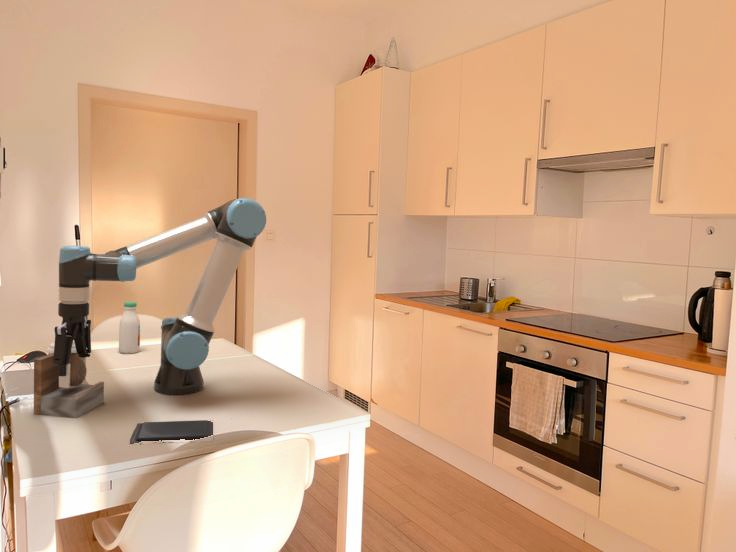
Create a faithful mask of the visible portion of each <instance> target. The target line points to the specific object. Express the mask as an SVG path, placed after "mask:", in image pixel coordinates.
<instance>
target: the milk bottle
mask: <svg viewBox="0 0 736 552" xmlns="http://www.w3.org/2000/svg"><path fill="white" fill-rule="evenodd" d="M137 306H138V304H137V302H134V301H127V302H124V303H123V308H124V311H123V313H122V316H121V318H120V320H119V327H118V352H119V353H120V354H138V353H140V348H141V347H140V345H141V322H140V321H141V320H140V318H139V316H138V314H137Z"/></svg>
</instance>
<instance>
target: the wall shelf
mask: <svg viewBox="0 0 736 552" xmlns="http://www.w3.org/2000/svg"><path fill="white" fill-rule="evenodd" d="M53 357H54V353H51V354H45V355H43V356H40V357H37V358H34V359H33V415H41V416H50V417H51V416H52V417H62V418H63V417H65V418H72V419H73V418H75V419H76V418H79V417H81V416H83V415H84V414H86V413H88V412H89V411H91V410H93V409H95V408H97V407H98V406H101V405H102V404H104V397H105V396H104V392H105V389H104V388H105V382H104V381H98V382H97V383H95V384H86V383H85V384H84V383H81V384H80V385H78V386H70V387H69V388H63V387H59V364H55V363H53Z"/></svg>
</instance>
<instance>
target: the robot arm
mask: <svg viewBox="0 0 736 552" xmlns="http://www.w3.org/2000/svg"><path fill="white" fill-rule="evenodd" d="M266 224H267V214H266V212H265V209H264V207H263V206H262V205H261V204H260V203H259V202H257V201H256V200H255V199H251V198H249V197H240V198H234V199H231V200H228V201H226V202H225V203H223V204H221V205H220V206H218V207H216V208H213V209H211V210H209V211H206V212H205V213H204V215H203V217H198V218H197V219H194V220H191V221H188V222H186V223H183V224H181V225H178V226H175V227H173V228H169V229H168V230H165V231H162V232H160V233H156V234H155V235H151V236H149V237H147V238H143V239H141V240H139V241H136V242H133V243H130V244H128V245H126V246H122V247H120V248H117V249H115V250H110V251H106V252H105V253H104V254H103V253H102V254H101V253H100V254H99V253H92V252H91V248H90V247H89V246H85V245H63V246H62V247H60V249H59V258H58V300H59V301H60V302H59V303H58V310H57V311H58V312H57V313H58V316H59V317H61V318H62V321H61V325H60V326H57V325H56V326H55V327H54V335H55V336H54V342H55V345H54V357H53V363H55V364H59V387H63V388H69V387H70V364H68V362H69V357H70V353H71V348H72V344H73V341H74V342H75V347H76V351H77V353H78V355H79V357H80V358H81V359H82V360H83V361H84V363H85V365H86V366H87V358H90V357H91V353H92V345H91V344H92V341H91V340H92V337H91V325H92V320H91V319H86V318H85V317H88V316H89V315H90V303H89V302H88V301H90V282H91V281H93V282H96V281H99V282H121V283H123V282H133V281H135V280H136V278H137V269H139V268H142V267H144V266H146V265H149V264H152V263H155V262H157V261H160V260H162V259H164V258H168V257H169V256H173V255H175V254H178V253H179V252H182V251H185V250H188V249H190V248H193V247H196V246H199V245H201V244H203V243H206V242H208V241H211V240H216V243H215V246H214V248H213V250H212V252H211V254H210V256H209V259H208V261H207V263H206V266H205V267H204V270H203V272H202V275H201V277H200V279H199V281H198V284H197V285H196V288H195V290H194V292H193V294H192V297H191V299H190V302H189V304H188V305H187V308H186V310H185V311H184V313H183V314H182V313H181V314H179V315H177V317H165V318H164V319H162V321H161V326H160V329H161V340H160V341H161V344H160V346H161V347H160V351H161V352H160V366H159V369H158V371H157V374H156V376H155V380H154V382H153V383H154V384H153V389H154V391H155V392H157V393H160V394H164V395H187V394H193V393H197V392H199V390H200V391H201V389H202V390H203V389H204V383H205V382H204V381H205V380H204V377H203V375H202V371H201V368H200V366H201V365H202V364H203V363H204V362H205V361H206V359H207V357H208V355H209V351H210V342H211V340H212V338H213V335H214V333H215V331H216V330H215V327H214V326H213V323H214V321H215V318H216V317H217V314H218V311H219V310H220V307H221V305H222V303H223V301H224V299H225V296H226V294H227V292H228V290H229V287H230V286H231V282H232V280H233V278H234V275H235V274H236V271H237V269H238V267H239V265H240V262H241V261H242V258H243V256H244V254H245V252H246V251H248V250H249V251H250V250H251V249H252V248H253V246H254V243H255V242H256V239H257V237H258V236H260V235H261V234H262V233H263V231H264V230H265V228H266ZM86 378H87V376H86V377H85V380H84V381H86Z"/></svg>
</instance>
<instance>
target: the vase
mask: <svg viewBox="0 0 736 552" xmlns="http://www.w3.org/2000/svg"><path fill="white" fill-rule="evenodd" d="M68 364H70V386H78V385H80V384H83V382H84V381H86V380H85V377H86V378H87V372H88V371H87V364H86V365H85V363H84V361H83V360H82V359H81V358H80V357H79V355H78V353H70V357H69V362H68Z"/></svg>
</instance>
